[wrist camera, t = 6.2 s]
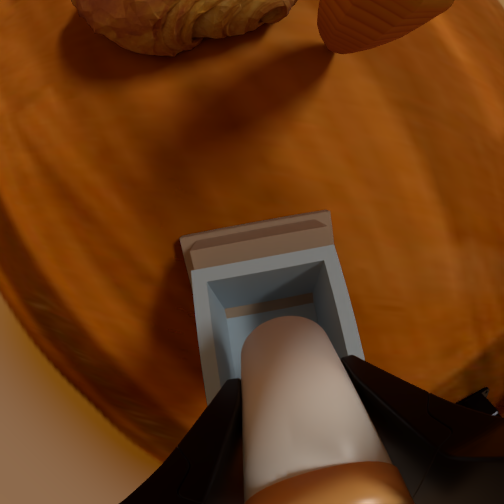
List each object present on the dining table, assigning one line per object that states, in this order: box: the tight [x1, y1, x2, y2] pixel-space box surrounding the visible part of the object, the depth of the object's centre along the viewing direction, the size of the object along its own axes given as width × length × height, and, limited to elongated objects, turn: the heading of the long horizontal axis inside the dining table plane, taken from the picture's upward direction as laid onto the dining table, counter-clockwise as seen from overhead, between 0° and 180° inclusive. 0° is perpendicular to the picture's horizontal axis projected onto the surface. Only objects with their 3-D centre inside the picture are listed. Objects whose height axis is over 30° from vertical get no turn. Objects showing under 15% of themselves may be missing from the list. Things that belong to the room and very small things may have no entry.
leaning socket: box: [180, 210, 365, 406], centre depth 15 cm, size 11×9×9 cm
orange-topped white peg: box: [241, 316, 415, 504], centre depth 7 cm, size 3×3×7 cm
